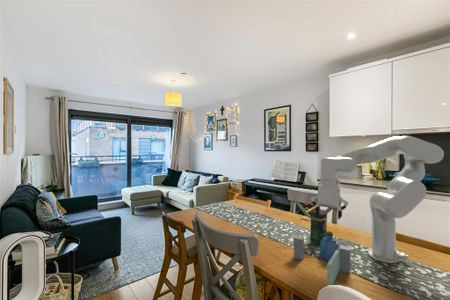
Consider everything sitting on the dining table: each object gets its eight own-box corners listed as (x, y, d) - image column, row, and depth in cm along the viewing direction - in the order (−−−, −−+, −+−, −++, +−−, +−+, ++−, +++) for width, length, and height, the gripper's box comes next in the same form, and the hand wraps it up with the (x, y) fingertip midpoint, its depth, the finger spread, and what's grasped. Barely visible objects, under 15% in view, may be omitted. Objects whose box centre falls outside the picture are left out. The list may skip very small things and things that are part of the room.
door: (336, 270, 96) (336, 249, 96) (339, 271, 95) (339, 250, 95) (327, 287, 84) (327, 264, 84) (330, 288, 84) (330, 265, 84)
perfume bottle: (332, 253, 112) (332, 230, 112) (338, 259, 106) (338, 234, 106) (320, 253, 112) (320, 230, 112) (326, 259, 106) (326, 235, 106)
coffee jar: (321, 247, 119) (321, 213, 119) (308, 242, 125) (307, 210, 125) (329, 242, 126) (329, 209, 125) (315, 238, 131) (315, 207, 131)
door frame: (350, 270, 96) (350, 247, 96) (349, 273, 94) (349, 250, 94) (295, 255, 110) (295, 235, 110) (294, 257, 108) (293, 237, 108)
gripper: (349, 183, 107) (349, 217, 107) (312, 180, 117) (312, 211, 117) (347, 185, 101) (347, 222, 101) (308, 181, 111) (308, 215, 111)
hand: (328, 216), depth 109 cm, fingers open, 9 cm apart
